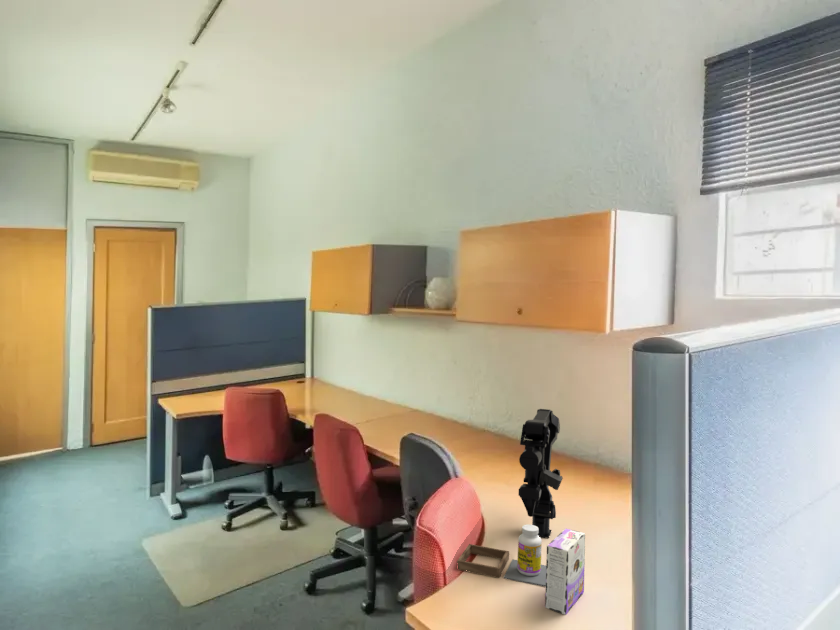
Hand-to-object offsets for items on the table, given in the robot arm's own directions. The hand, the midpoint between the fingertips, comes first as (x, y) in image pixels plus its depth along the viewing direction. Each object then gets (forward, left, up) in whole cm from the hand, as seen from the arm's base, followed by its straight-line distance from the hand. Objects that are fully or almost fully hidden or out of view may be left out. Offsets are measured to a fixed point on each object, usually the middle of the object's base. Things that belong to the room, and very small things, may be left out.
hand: (533, 511), depth 175 cm
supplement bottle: (+14, +1, -13) cm, 19 cm away
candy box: (+25, +13, -13) cm, 31 cm away
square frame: (+14, -12, -13) cm, 23 cm away
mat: (+14, +1, -13) cm, 19 cm away
